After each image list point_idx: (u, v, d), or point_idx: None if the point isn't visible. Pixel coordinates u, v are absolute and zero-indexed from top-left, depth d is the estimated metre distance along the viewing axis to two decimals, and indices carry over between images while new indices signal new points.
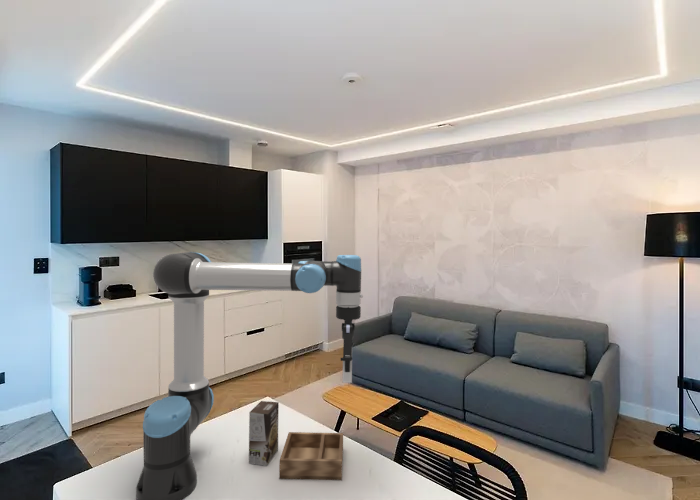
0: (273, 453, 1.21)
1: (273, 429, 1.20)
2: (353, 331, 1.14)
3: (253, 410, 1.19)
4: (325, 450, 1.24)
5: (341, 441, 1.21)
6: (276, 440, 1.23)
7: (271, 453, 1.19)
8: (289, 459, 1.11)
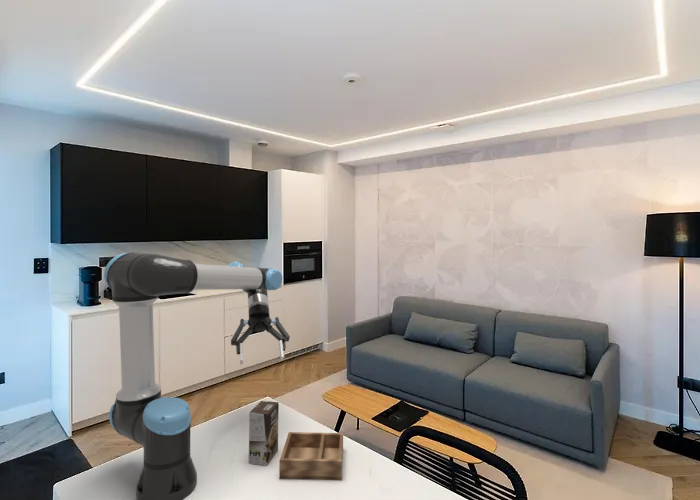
0: (273, 453, 1.21)
1: (273, 429, 1.20)
2: (267, 327, 1.41)
3: (253, 410, 1.19)
4: (325, 450, 1.24)
5: (341, 441, 1.21)
6: (276, 440, 1.23)
7: (271, 453, 1.19)
8: (289, 459, 1.11)
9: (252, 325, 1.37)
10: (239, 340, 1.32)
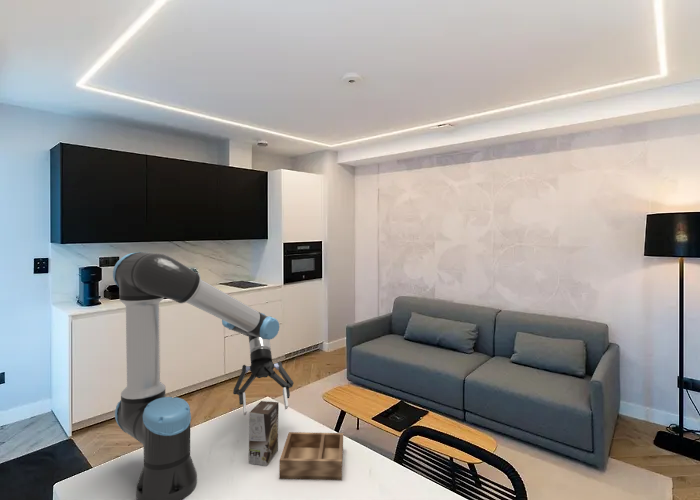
0: (273, 453, 1.21)
1: (273, 429, 1.20)
2: (270, 372, 1.38)
3: (253, 410, 1.19)
4: (325, 450, 1.24)
5: (341, 441, 1.21)
6: (276, 440, 1.23)
7: (271, 453, 1.19)
8: (289, 459, 1.11)
9: (255, 372, 1.33)
10: (242, 389, 1.28)
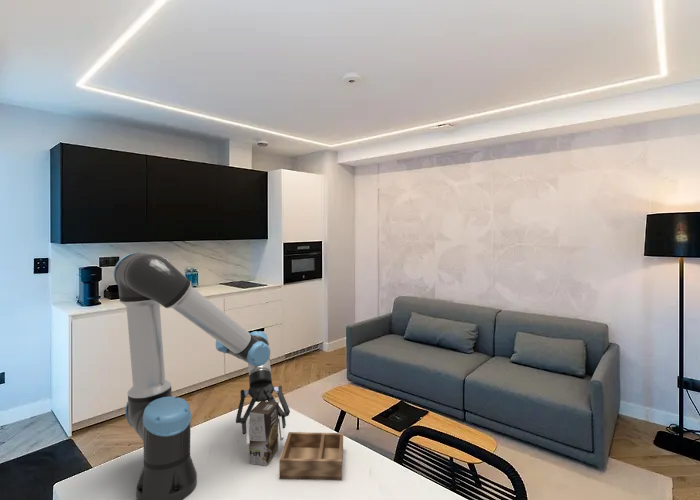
0: (273, 453, 1.21)
1: (273, 429, 1.20)
2: None
3: (253, 410, 1.19)
4: (325, 450, 1.24)
5: (341, 441, 1.21)
6: (276, 440, 1.23)
7: (271, 453, 1.19)
8: (289, 459, 1.11)
9: (255, 396, 1.25)
10: (245, 417, 1.20)
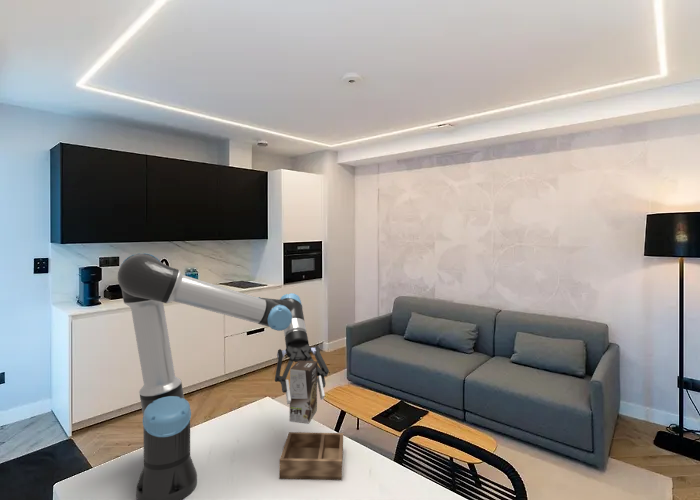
0: (313, 412, 1.18)
1: (313, 387, 1.17)
2: None
3: (293, 367, 1.15)
4: (325, 450, 1.24)
5: (341, 441, 1.21)
6: (315, 400, 1.20)
7: (312, 412, 1.16)
8: (289, 459, 1.11)
9: (293, 355, 1.22)
10: (284, 376, 1.17)
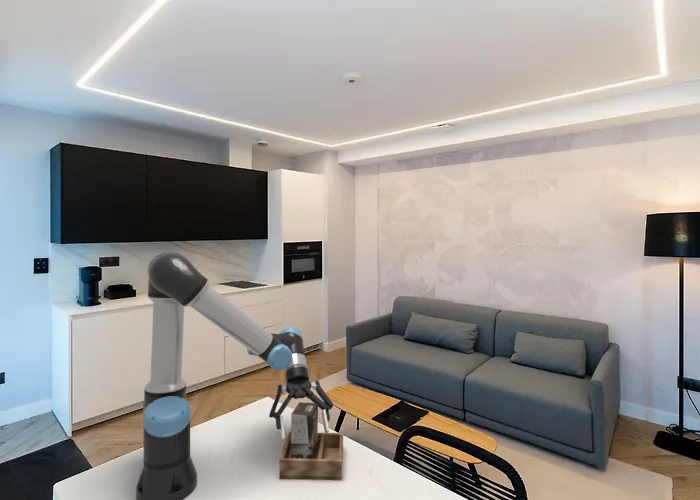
0: (314, 455, 1.18)
1: (314, 431, 1.17)
2: None
3: (294, 412, 1.16)
4: (325, 450, 1.24)
5: (341, 441, 1.21)
6: (316, 442, 1.20)
7: (313, 455, 1.17)
8: (289, 459, 1.11)
9: (292, 392, 1.22)
10: (279, 412, 1.17)
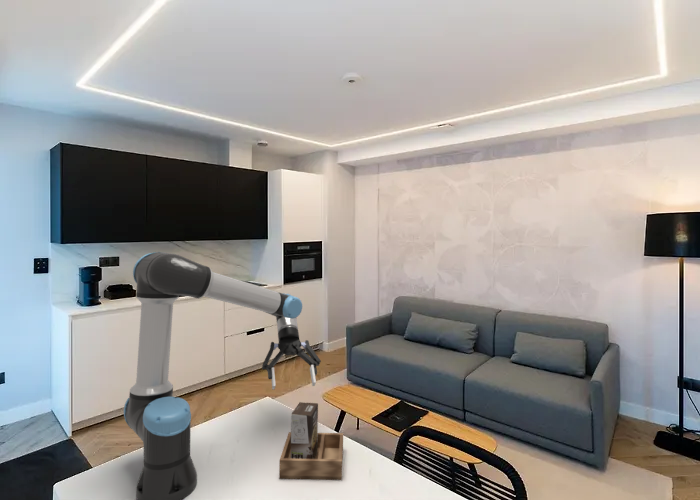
0: (314, 455, 1.18)
1: (314, 431, 1.17)
2: None
3: (294, 412, 1.16)
4: (325, 450, 1.24)
5: (341, 441, 1.21)
6: (316, 442, 1.20)
7: (313, 455, 1.17)
8: (289, 459, 1.11)
9: (283, 349, 1.34)
10: (271, 364, 1.30)
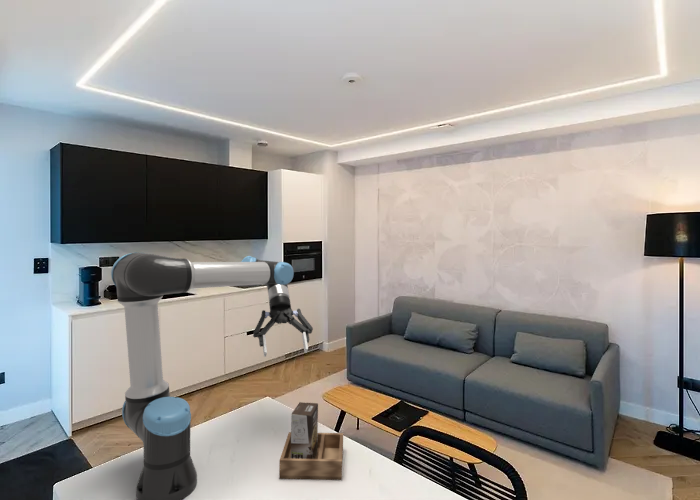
0: (314, 455, 1.18)
1: (314, 431, 1.17)
2: None
3: (294, 412, 1.16)
4: (325, 450, 1.24)
5: (341, 441, 1.21)
6: (316, 442, 1.20)
7: (313, 455, 1.17)
8: (289, 459, 1.11)
9: (274, 317, 1.33)
10: (262, 332, 1.28)
